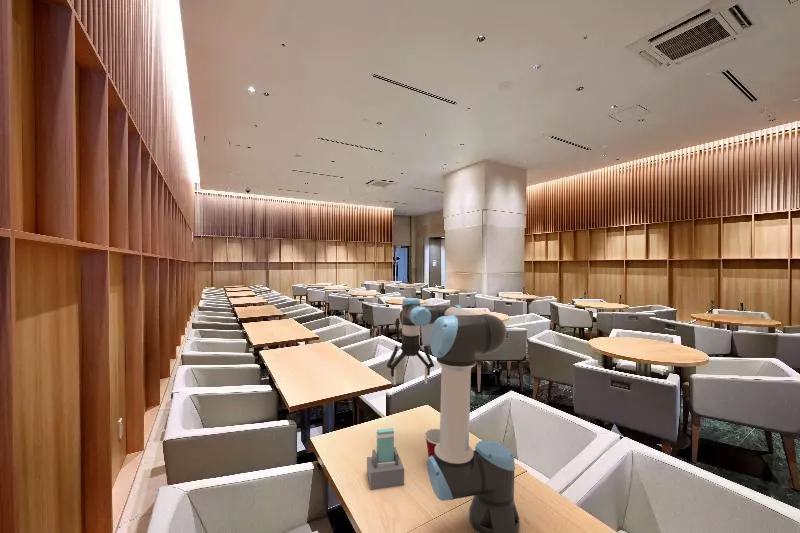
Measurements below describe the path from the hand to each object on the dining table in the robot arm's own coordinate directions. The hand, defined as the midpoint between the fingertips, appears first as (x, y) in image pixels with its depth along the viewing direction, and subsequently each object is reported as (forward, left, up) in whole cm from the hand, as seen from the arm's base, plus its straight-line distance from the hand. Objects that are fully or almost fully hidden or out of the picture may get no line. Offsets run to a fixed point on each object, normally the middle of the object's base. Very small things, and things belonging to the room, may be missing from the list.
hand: (410, 383), depth 152 cm
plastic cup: (-15, -7, -28) cm, 33 cm away
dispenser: (-19, +15, -28) cm, 37 cm away
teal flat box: (-19, +15, -22) cm, 33 cm away
